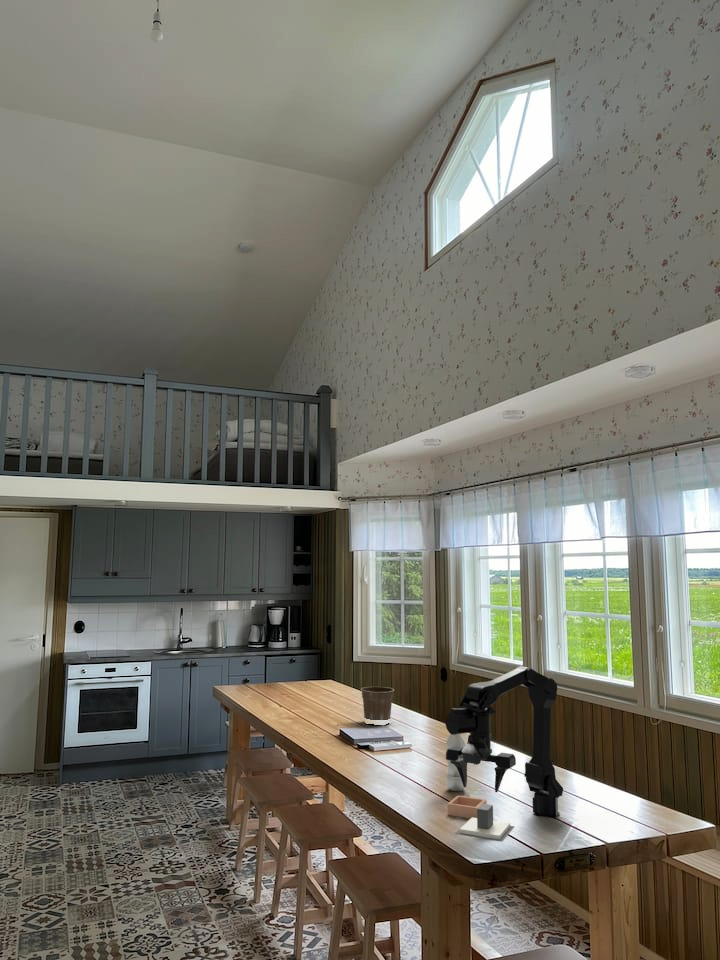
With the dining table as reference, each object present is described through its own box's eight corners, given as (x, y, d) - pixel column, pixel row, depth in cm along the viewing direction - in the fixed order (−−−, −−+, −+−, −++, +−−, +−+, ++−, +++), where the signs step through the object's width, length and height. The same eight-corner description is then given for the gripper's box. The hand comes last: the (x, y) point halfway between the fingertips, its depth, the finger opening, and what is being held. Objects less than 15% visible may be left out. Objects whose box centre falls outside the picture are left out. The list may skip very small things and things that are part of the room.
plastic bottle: (463, 787, 241) (463, 725, 244) (467, 793, 234) (466, 729, 237) (444, 787, 241) (444, 725, 244) (447, 793, 234) (447, 729, 237)
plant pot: (401, 725, 343) (400, 690, 345) (371, 728, 335) (371, 692, 337) (382, 719, 357) (382, 685, 359) (354, 722, 349) (354, 687, 351)
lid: (510, 826, 201) (509, 804, 202) (499, 839, 191) (499, 815, 192) (472, 820, 206) (471, 798, 207) (459, 832, 196) (459, 809, 197)
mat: (514, 828, 202) (514, 826, 202) (502, 843, 190) (502, 841, 190) (469, 821, 207) (469, 819, 207) (455, 835, 196) (455, 833, 196)
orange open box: (486, 813, 215) (486, 799, 216) (477, 822, 207) (477, 808, 208) (457, 809, 219) (457, 795, 220) (447, 818, 211) (447, 803, 212)
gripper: (437, 732, 201) (437, 791, 198) (502, 740, 191) (503, 802, 189) (453, 725, 210) (453, 781, 208) (515, 733, 201) (516, 792, 199)
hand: (480, 789), depth 201 cm, fingers open, 9 cm apart
